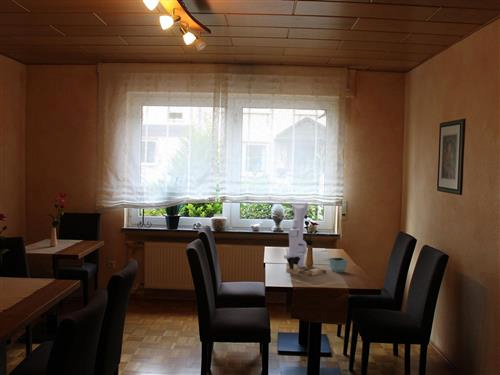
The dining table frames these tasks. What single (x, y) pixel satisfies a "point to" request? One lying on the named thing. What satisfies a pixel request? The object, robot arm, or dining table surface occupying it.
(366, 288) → the dining table surface
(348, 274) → the dining table surface
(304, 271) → the rack
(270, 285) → the dining table surface
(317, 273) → the offcut board lower
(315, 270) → the offcut board upper
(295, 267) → the tall block
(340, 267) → the flower pot
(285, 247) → the dining table surface
